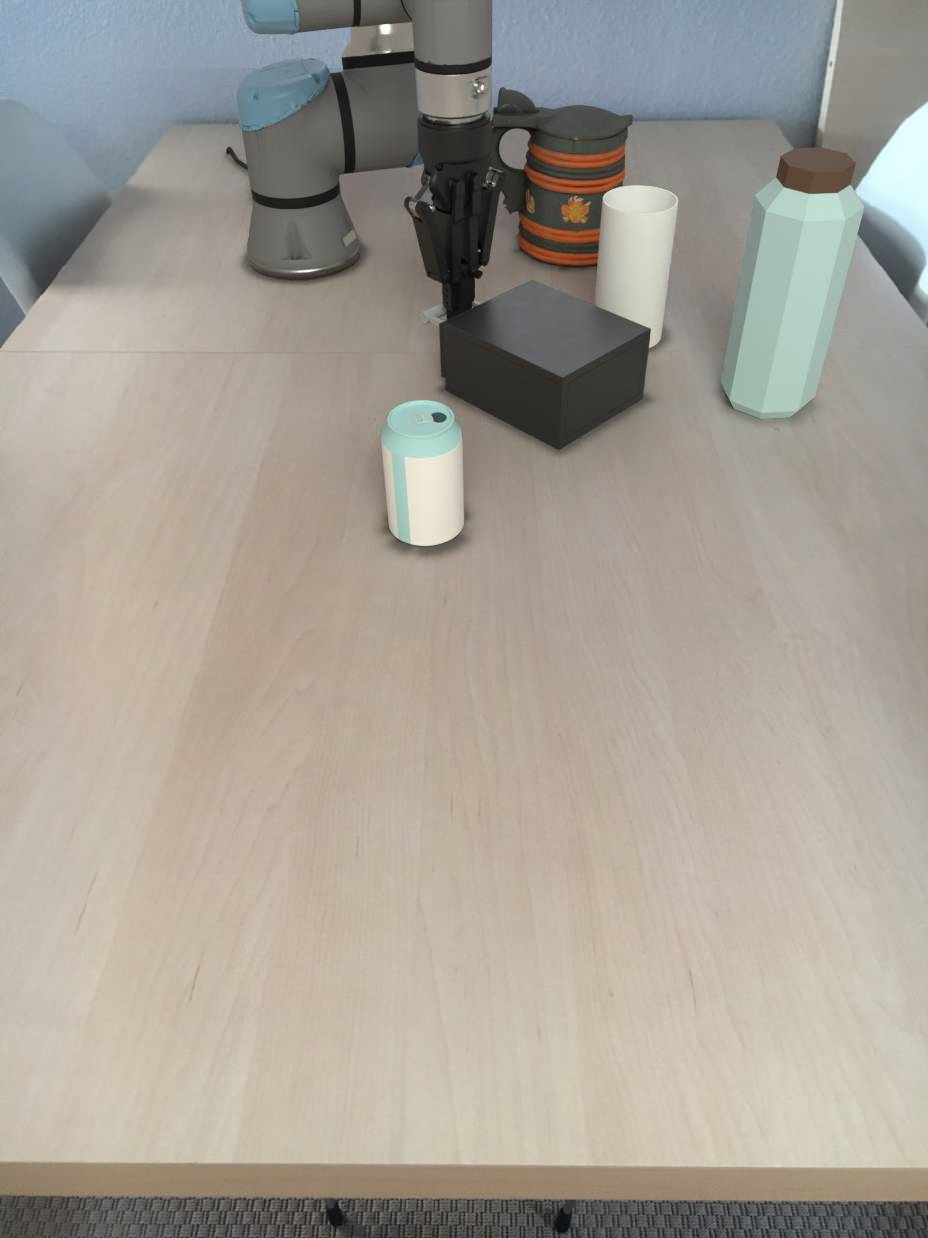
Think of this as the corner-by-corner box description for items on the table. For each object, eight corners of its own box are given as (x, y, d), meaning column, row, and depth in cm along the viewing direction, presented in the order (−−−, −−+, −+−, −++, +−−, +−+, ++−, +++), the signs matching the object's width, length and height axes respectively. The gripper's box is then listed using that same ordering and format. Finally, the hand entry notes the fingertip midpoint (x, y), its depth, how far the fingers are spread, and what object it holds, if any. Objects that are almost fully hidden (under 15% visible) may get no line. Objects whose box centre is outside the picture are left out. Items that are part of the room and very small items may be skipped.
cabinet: (445, 390, 110) (443, 321, 104) (530, 346, 117) (532, 279, 111) (558, 450, 101) (562, 378, 96) (642, 398, 108) (651, 328, 102)
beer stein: (487, 270, 132) (487, 108, 118) (486, 225, 143) (486, 72, 129) (630, 268, 132) (646, 105, 118) (618, 223, 142) (632, 69, 128)
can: (419, 495, 96) (413, 386, 88) (479, 521, 93) (478, 410, 85) (373, 533, 92) (362, 422, 84) (434, 561, 89) (428, 449, 81)
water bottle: (816, 383, 110) (877, 146, 92) (808, 430, 103) (872, 184, 86) (725, 369, 112) (768, 136, 95) (711, 415, 105) (755, 172, 88)
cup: (659, 354, 115) (676, 216, 104) (588, 348, 116) (598, 211, 105) (663, 320, 121) (680, 186, 110) (596, 315, 122) (606, 182, 111)
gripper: (432, 136, 93) (441, 363, 109) (527, 104, 99) (522, 322, 115) (379, 119, 97) (396, 340, 113) (474, 89, 103) (476, 302, 119)
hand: (459, 331), depth 114 cm, fingers closed
